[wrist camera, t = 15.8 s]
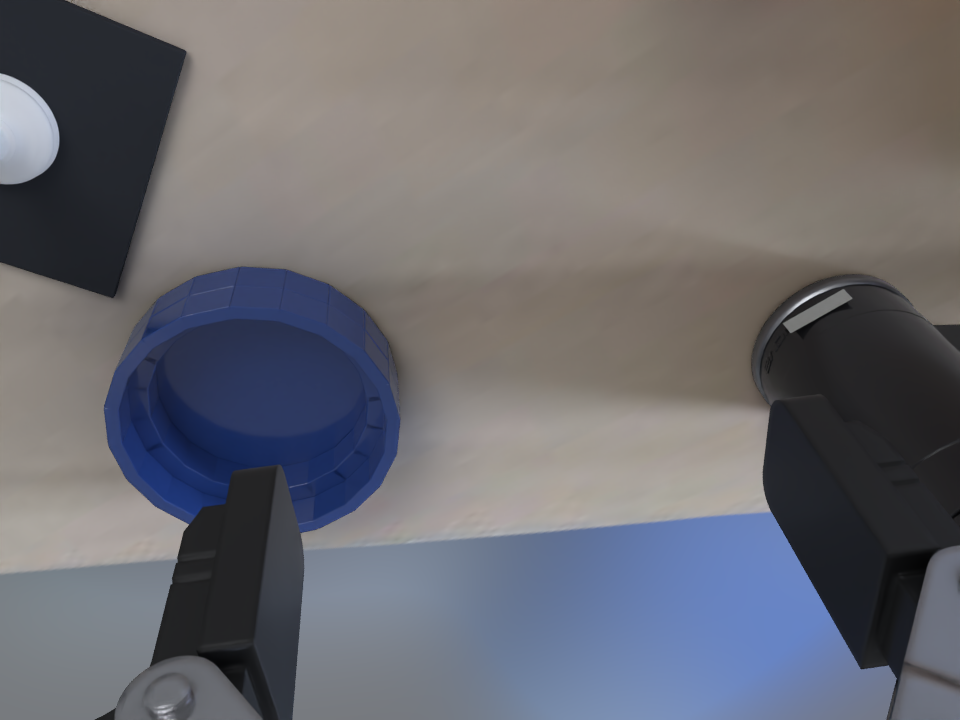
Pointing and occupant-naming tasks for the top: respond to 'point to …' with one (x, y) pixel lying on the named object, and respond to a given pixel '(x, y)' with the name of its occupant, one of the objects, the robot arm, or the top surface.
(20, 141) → the chess piece
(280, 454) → the bowl
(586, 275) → the top surface
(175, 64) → the mat
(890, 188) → the top surface
